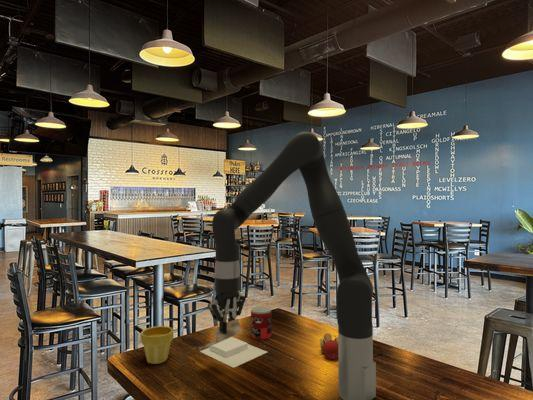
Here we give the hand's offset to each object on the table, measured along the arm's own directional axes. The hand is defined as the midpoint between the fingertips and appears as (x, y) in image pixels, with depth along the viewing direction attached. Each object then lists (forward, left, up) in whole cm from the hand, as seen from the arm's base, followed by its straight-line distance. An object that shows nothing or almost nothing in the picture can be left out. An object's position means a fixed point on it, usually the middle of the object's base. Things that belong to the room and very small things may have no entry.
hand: (227, 331), depth 110 cm
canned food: (+15, -30, -14) cm, 36 cm away
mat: (+12, -13, -14) cm, 23 cm away
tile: (+10, -13, -12) cm, 21 cm away
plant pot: (+27, +8, -14) cm, 32 cm away
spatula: (+2, 0, -3) cm, 4 cm away
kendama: (-11, -38, -14) cm, 42 cm away
